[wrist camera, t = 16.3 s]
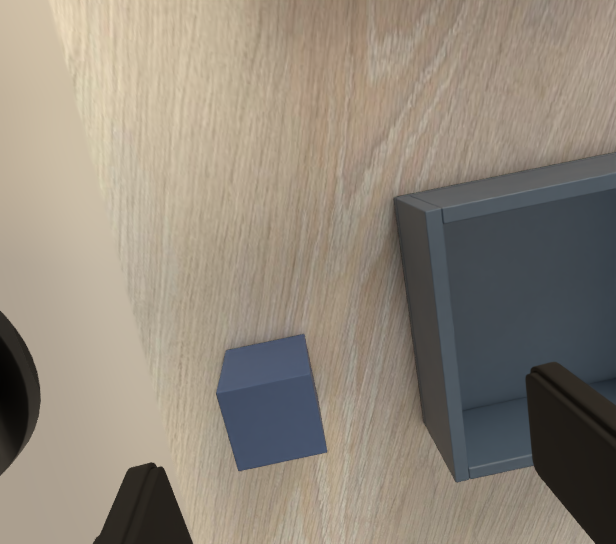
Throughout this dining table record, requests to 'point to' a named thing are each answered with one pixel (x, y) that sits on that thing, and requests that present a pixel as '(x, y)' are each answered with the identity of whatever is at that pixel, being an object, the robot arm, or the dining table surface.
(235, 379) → the blue block
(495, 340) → the slate bin
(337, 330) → the dining table surface
